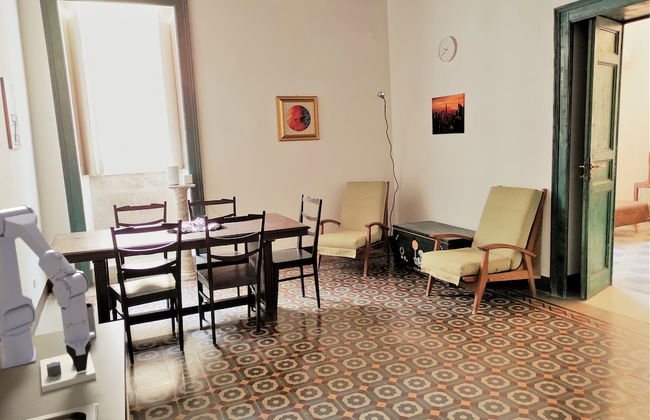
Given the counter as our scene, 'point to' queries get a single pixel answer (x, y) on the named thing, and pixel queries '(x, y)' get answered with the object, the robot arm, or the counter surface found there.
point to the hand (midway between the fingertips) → (81, 370)
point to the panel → (65, 372)
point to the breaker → (53, 369)
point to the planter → (91, 319)
